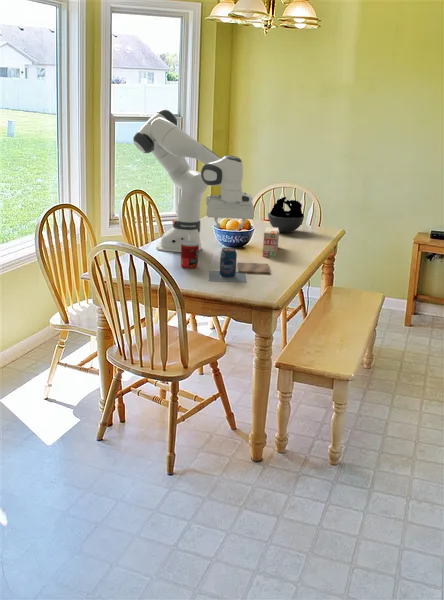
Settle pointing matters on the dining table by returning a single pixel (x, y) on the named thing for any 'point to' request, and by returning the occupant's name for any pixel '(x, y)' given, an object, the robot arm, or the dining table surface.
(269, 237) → the stack of blocks
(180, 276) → the dining table surface
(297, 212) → the coal bowl
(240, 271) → the walnut coaster
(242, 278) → the blue gray card
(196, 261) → the canned food
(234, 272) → the soda can
